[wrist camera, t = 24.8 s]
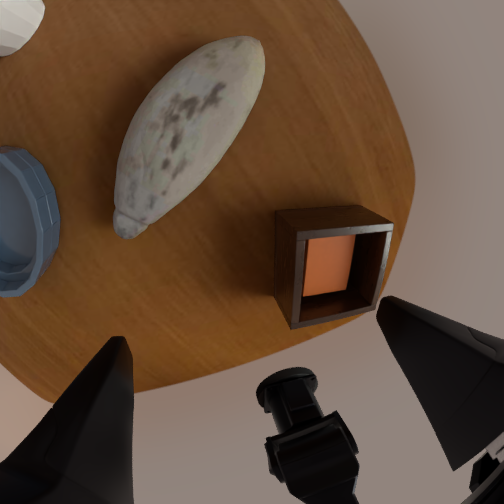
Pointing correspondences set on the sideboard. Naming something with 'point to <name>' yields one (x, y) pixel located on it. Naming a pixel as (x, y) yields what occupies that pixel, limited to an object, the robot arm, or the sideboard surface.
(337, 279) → the orange block
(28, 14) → the shot glass
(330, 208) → the holder
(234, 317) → the sideboard surface
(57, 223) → the bowl
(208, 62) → the decorative stone
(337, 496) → the robot arm
